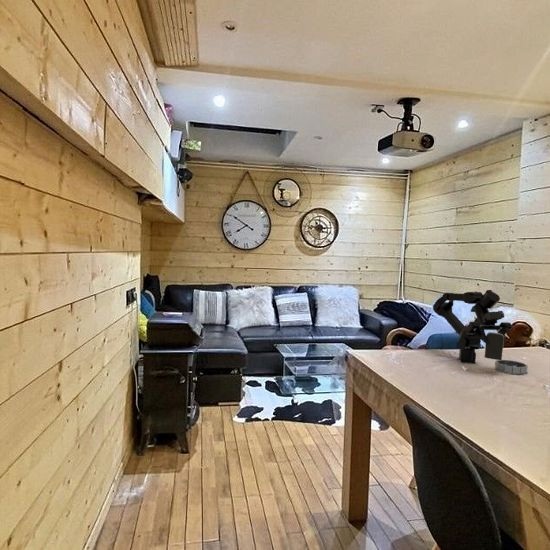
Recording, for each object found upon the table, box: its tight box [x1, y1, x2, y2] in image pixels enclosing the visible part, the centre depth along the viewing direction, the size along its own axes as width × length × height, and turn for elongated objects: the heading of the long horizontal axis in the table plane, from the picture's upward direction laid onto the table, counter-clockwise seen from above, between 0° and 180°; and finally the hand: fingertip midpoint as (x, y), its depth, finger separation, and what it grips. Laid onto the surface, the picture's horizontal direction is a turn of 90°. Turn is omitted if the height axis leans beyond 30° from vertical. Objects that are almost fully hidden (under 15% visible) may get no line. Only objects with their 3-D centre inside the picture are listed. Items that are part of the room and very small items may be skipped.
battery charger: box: [484, 332, 505, 361], centre depth 185 cm, size 7×4×11 cm, turn 63°
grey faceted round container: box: [494, 359, 529, 376], centre depth 191 cm, size 13×13×3 cm
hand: (496, 344), depth 184 cm, fingers closed on battery charger, 7 cm apart
